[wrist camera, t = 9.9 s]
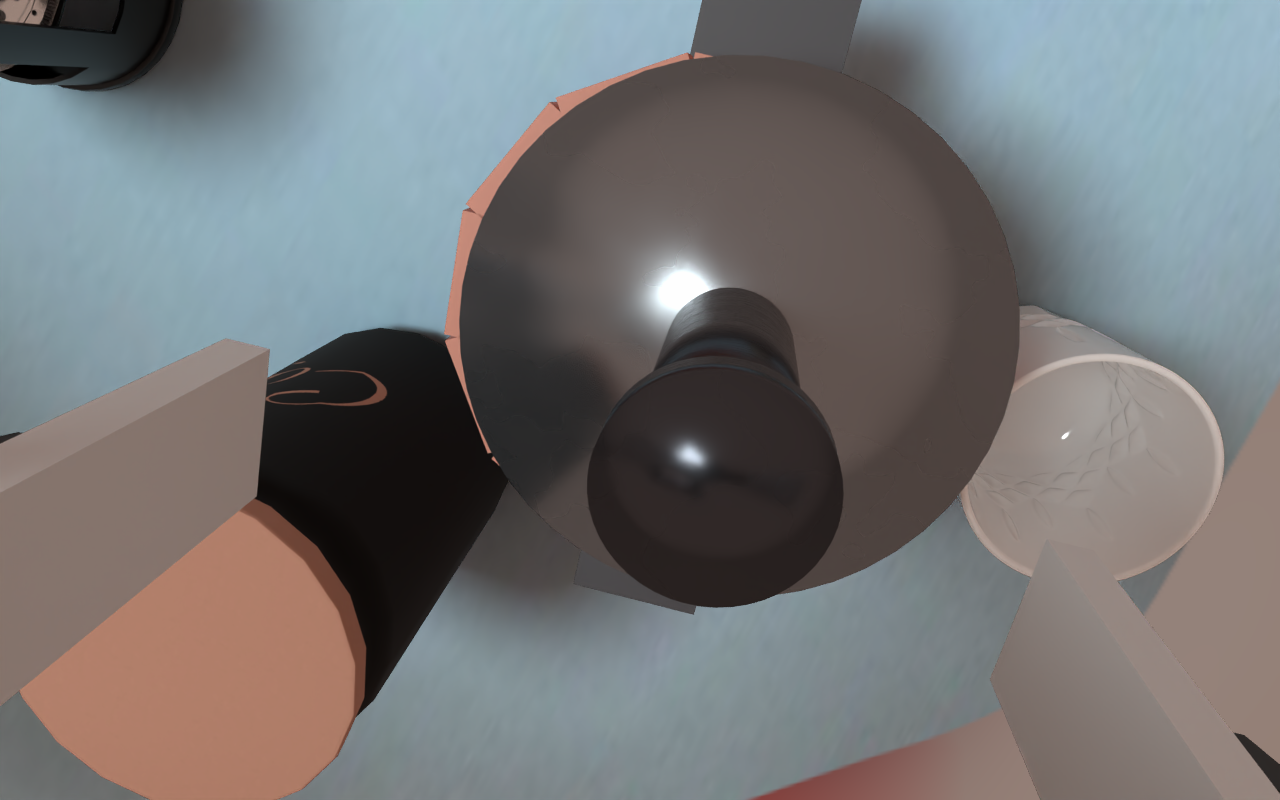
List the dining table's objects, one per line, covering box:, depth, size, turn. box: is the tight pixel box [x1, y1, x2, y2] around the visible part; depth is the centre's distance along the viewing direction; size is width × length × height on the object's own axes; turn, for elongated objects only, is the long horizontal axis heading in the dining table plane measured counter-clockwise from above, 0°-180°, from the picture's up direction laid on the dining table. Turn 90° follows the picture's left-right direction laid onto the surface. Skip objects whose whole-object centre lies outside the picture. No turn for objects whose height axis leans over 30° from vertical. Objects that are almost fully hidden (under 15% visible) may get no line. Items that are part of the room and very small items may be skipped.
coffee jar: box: [19, 328, 508, 800], centre depth 34 cm, size 11×11×18 cm
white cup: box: [958, 305, 1224, 581], centre depth 34 cm, size 8×8×10 cm
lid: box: [459, 55, 1020, 608], centre depth 23 cm, size 16×16×13 cm
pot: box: [444, 0, 862, 615], centre depth 33 cm, size 21×15×12 cm
